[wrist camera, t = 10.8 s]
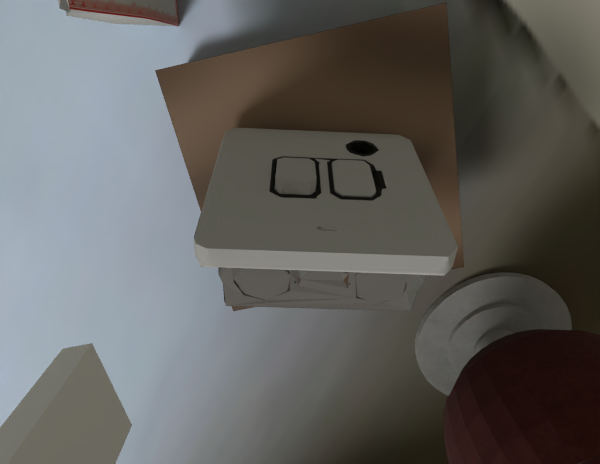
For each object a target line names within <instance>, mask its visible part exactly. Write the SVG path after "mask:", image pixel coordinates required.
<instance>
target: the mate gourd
mask: <svg viewBox="0 0 600 464" xmlns="http://www.w3.org/2000/svg"><path fill="white" fill-rule="evenodd" d="M415 354H416V357H417V361H418V364H419V367H420V369H421V371H422V373H423V374H424V376H425V378H426V379H427V381H428V382H429V383H430V384H431V385H432V386H433V387H434V388H436V389H437V390H439V391H440V392H442V393H444V394H445V395H448V396H449V397H448V399H447V401H446V405H445V409H444V414H443V429H444V439H445V449H446V453H447V458H448V462H449V464H600V335H597V334H593V333H588V332H584V331H579V330H572V323H571V315H570V313H569V310H568V308H567V305H566V303H565V302H564V301H563V299H562V298H561V297H560V296H559V294H558V293H557V292H555V291H554V290H553V289H552V288H551V287H549V286H548V285H547V284H546V283H544V282H543V281H540V280H538V279H536V278H534V277H532V276H529V275H524V274H520V273H511V272H498V273H491V274H484V275H481V276H478V277H474V278H471V279H468V280H466V281H464V282H462V283H460V284H458V285H456V286H454V287H453V288H451V289H450V290H448V291H447V292H446V293H444V294H443V295H441V296H440V297H439V298H438V299H437V300H436V301H435V302H434V303H433V304H432V305H431V306H430V308H429V309H428V311H427V312H426V314H425V315H424V316H423V318H422V320H421V323H420V325H419V327H418V330H417V334H416V339H415Z"/></svg>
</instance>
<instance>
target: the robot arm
mask: <svg viewBox="0 0 600 464" xmlns="http://www.w3.org/2000/svg"><path fill="white" fill-rule="evenodd" d="M131 426H132V424H131V422H130V420H129V418H128V416H127V414H126V412H125V410H124V408H123V406H122V404H121V402H120V400H119V398H118V396H117V394H116V392H115V390H114V388H113V385H112V383H111V381H110V379H109V377H108V375H107V373H106V371H105V369H104V367H103V365H102V363H101V361H100V359H99V357H98V355H97V353H96V351H95V349H94V346H93V344H92V343H91V344H86V345H81V346H75V347H70V348H65V349H62V350H61V352H60V353H59V354H58V355H57V357H56V358H55V359H54V361H53V362H52V363H51V364H50V366H49V367H48V368H47V369H46V371H45V372H44V373H43V374H42V376H41V377H40V378H39V379H38V381H37V382H36V383H35V385H34V386H33V387H32V388H31V390H30V391H29V392H28V393H27V395H26V396H25V397H24V398H23V400H22V401H21V402H20V403H19V405H18V406H17V407H16V409H15V410H14V411H13V412H12V414H11V415H10V416H9V417H8V419H7V420H6V421H5V422H4V424H3V425H2V426H1V427H0V464H115V463H116V460H117V458H118V456H119V453H120V451H121V449H122V447H123V444H124V442H125V440H126V437H127V435H128V433H129V431H130V428H131Z"/></svg>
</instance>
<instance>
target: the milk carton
mask: <svg viewBox="0 0 600 464" xmlns="http://www.w3.org/2000/svg"><path fill="white" fill-rule="evenodd" d="M58 1H59V7H60V9H63V10H65V11H66V15H67V16H72V17H78V18H84V19H90V20H96V21H102V22H108V23H114V24H134V25H159V26H179V21H178V7H177V0H58Z"/></svg>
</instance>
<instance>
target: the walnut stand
mask: <svg viewBox="0 0 600 464" xmlns="http://www.w3.org/2000/svg"><path fill="white" fill-rule="evenodd" d="M155 71H156V74H157V77H158V81H159V84H160V87H161V90H162V93H163V96H164V99H165V102H166V105H167V108H168V111H169V114H170V117H171V121H172V124H173V127H174V130H175V133H176V136H177V139H178V142H179V145H180V148H181V151H182V154H183V158H184V161H185V164H186V167H187V170H188V173H189V176H190V179H191V182H192V185H193V188H194V191H195V194H196V198H197V201H198V204H199V207H200V210H201V211H202V208H203V205H204V201H205V198H206V194H207V191H208V188H209V184H210V181H211V177H212V174H213V171H214V167H215V164H216V161H217V157H218V154H219V150H220V147H221V144H222V140H223V137H224V134H225V132H226V131H228V130H230V129H233V128H257V129H280V130H303V131H326V132H349V133H372V134H394V135H400V136H403V137H405V138H407V139H409V140H411V142H412V144H413V147H414V149H415V151H416V153H417V156H418V158H419V160H420V162H421V165H422V167H423V169H424V171H425V174H426V176H427V178H428V180H429V182H430V185H431V187H432V189H433V191H434V194H435V196H436V198H437V200H438V203H439V205H440V207H441V209H442V212H443V214H444V216H445V218H446V221H447V223H448V225H449V227H450V230H451V232H452V234H453V236H454V238H455V241H456V243H457V245H458V249H457V253H456V256H455V260H454V263H453V266H452V268H451V269H455V268H461V267H464V262H463V246H462V231H461V216H460V201H459V186H458V170H457V155H456V140H455V125H454V110H453V94H452V79H451V64H450V49H449V34H448V18H447V3H443V4H439V5H434V6H430V7H426V8H421V9H417V10H413V11H409V12H404V13H400V14H396V15H391V16H387V17H383V18H378V19H374V20H370V21H366V22H361V23H357V24H353V25H348V26H344V27H340V28H336V29H331V30H327V31H323V32H318V33H314V34H310V35H306V36H301V37H297V38H293V39H288V40H284V41H280V42H275V43H271V44H267V45H263V46H258V47H254V48H250V49H245V50H241V51H237V52H233V53H228V54H224V55H220V56H215V57H211V58H207V59H202V60H198V61H194V62H190V63H185V64H181V65H177V66H172V67H168V68H164V69H160V70H155ZM239 270H240V269H239ZM285 271H287V270H285ZM356 274H358V273H356ZM356 274H355V275H356ZM348 279H349V274H348V275H347V277H346V278H345V279H344V280H343V281H344V283H345V284H346V286H348ZM300 281H301V279H300V278H298V284H299V283H300ZM289 288H290V285H289V287H288V289H289ZM239 289H240V287H239ZM240 290H241V289H240ZM241 291H242V290H241ZM263 300H265V299H263ZM232 308H233V311H236V310H241V309H247V308H252V306H232Z"/></svg>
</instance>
